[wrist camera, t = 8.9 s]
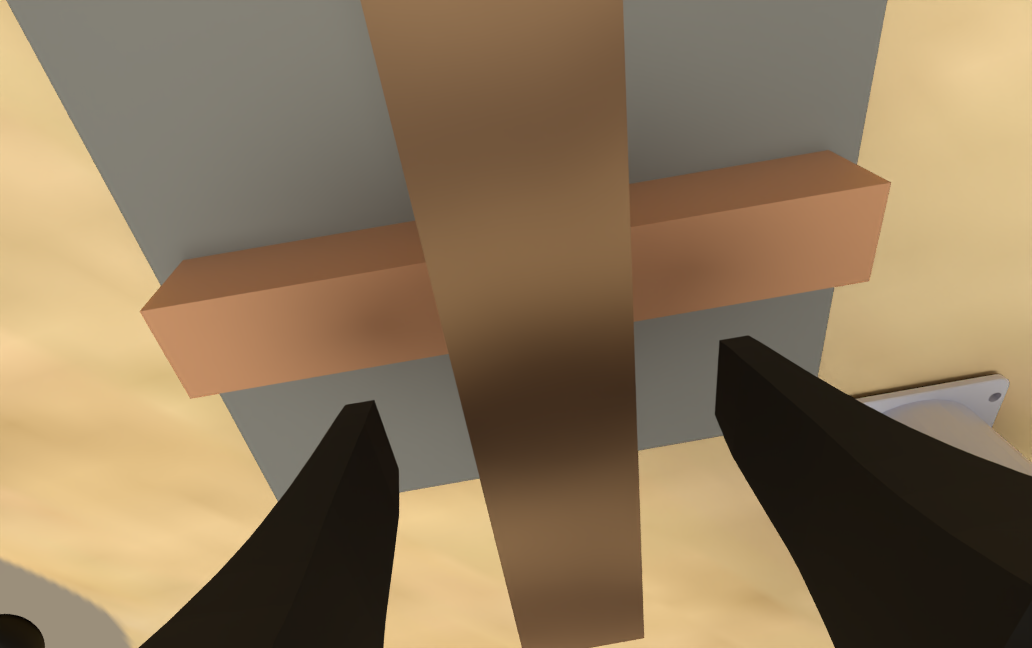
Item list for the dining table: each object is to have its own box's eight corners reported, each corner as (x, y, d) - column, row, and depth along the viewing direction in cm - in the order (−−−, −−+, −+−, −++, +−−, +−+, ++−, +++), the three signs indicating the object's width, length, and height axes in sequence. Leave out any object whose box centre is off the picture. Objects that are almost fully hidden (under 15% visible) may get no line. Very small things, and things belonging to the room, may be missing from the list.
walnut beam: (604, 501, 21) (644, 638, 17) (509, 518, 21) (524, 659, 17) (554, -114, 11) (618, -152, 7) (374, -85, 11) (333, -104, 7)
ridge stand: (797, 404, 25) (851, 474, 22) (289, 493, 25) (265, 578, 22) (900, -216, 14) (1040, -267, 11) (-3, -68, 14) (-143, -73, 11)
